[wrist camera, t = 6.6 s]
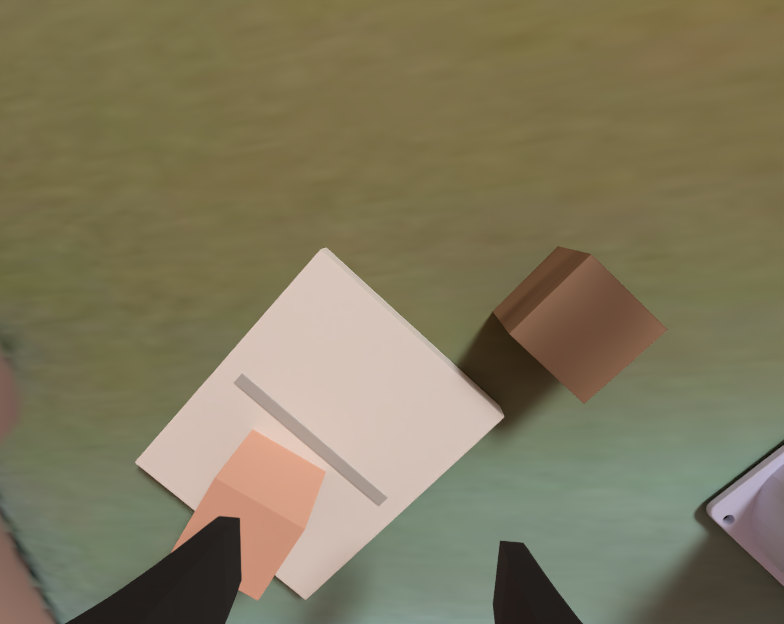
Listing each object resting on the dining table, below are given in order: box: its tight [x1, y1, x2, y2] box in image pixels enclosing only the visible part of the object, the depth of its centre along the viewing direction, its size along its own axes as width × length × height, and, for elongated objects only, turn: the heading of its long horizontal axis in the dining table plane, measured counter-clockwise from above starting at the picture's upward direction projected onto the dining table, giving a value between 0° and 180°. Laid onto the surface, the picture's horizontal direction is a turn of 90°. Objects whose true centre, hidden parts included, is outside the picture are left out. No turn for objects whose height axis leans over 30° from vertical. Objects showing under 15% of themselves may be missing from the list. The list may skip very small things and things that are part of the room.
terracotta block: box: [171, 429, 326, 600], centre depth 20 cm, size 4×4×4 cm
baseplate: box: [135, 248, 504, 600], centre depth 22 cm, size 11×14×1 cm
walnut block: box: [493, 247, 668, 403], centre depth 18 cm, size 4×4×4 cm
